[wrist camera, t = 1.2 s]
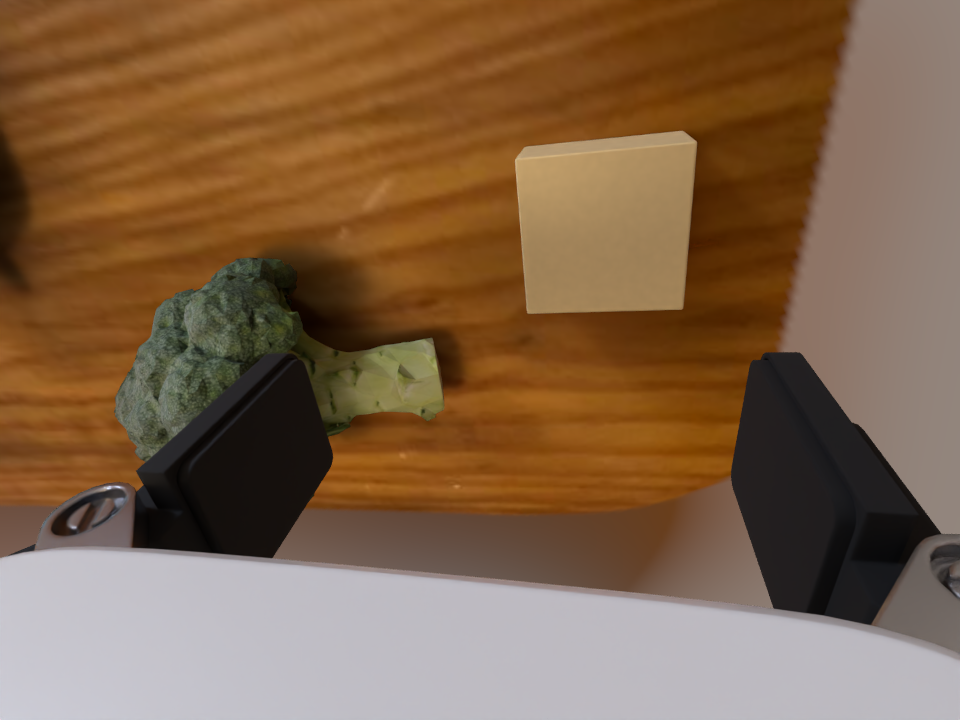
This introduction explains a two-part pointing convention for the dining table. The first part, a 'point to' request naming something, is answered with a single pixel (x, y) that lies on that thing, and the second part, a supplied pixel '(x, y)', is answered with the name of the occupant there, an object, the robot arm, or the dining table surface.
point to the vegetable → (244, 341)
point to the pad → (606, 223)
